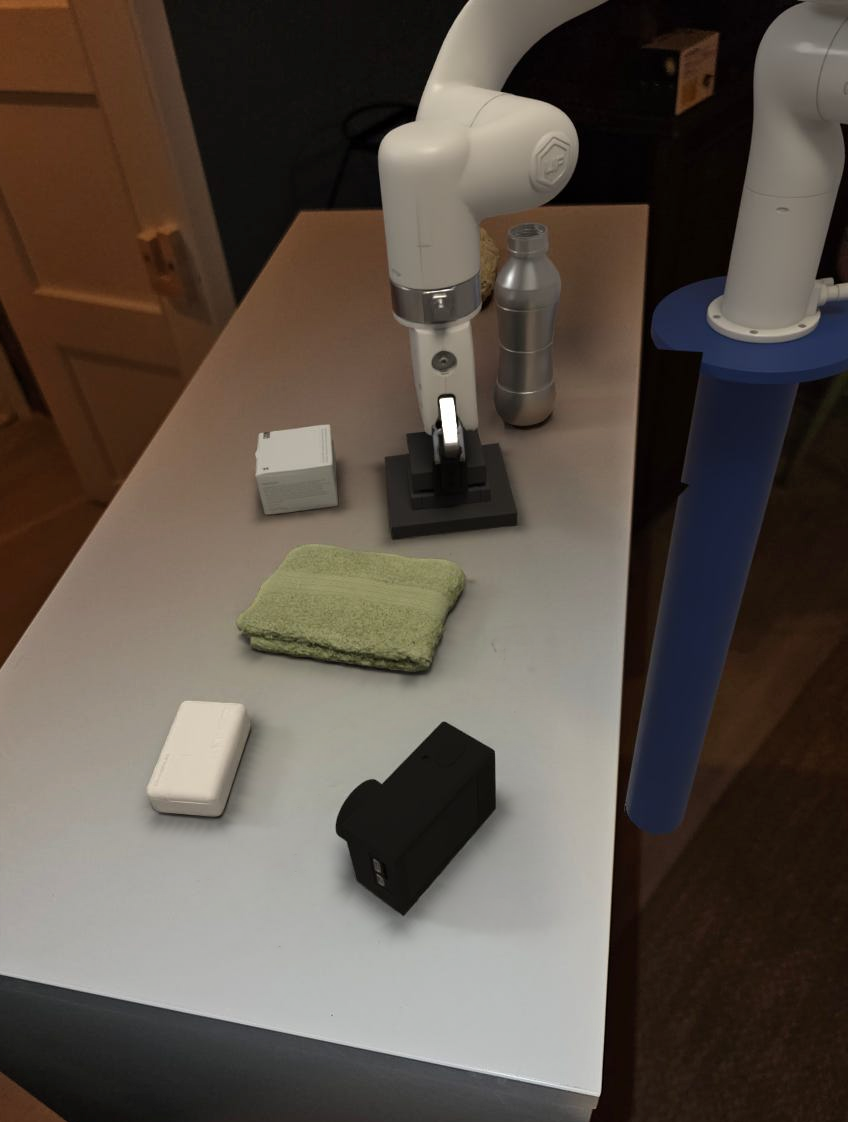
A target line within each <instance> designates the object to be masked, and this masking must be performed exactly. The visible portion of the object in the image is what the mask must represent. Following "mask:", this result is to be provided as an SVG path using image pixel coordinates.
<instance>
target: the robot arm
mask: <svg viewBox="0 0 848 1122" xmlns="http://www.w3.org/2000/svg"><path fill="white" fill-rule="evenodd" d="M608 1H609V0H468V1H467V2H466V4H465V5H464V6H463V8H462V9H461V10H460V12H459V13H458V15H457V17H456V18H455V20H454V21H453V23H452V25H451V27H450V28H449V30H448V32H447V34H446V36H445V38H444V40H443V42H442V45H441V47H440V49H439V52H438V54H437V57H436V60H435V62H434V64H433V67H432V70H431V72H430V74H429V77H428V80H427V82H426V85H425V86H424V90H423V92H422V95H421V98H420V102H419V104H418V109H417V113H416V116H415V121H410V122H408V123H404V124H402V125H399V126H397V127H395V128H393V129H391V130H390V131H389V132H388V133H387V134H386V135H385V136H384V137H383V138H382V139H381V142H380V144H379V148H378V152H377V153H378V154H377V165H378V174H379V175H378V176H379V184H380V185H379V186H380V196H381V204H382V215H383V225H384V235H385V244H386V255H387V264H388V266H387V267H388V275H389V286H390V287H389V288H390V296H391V297H390V298H391V307H392V317H393V318H394V321H396V322H397V323H398V324H399V325H401V326H403V327H406V328H408V338H409V346H410V355H411V364H412V371H413V372H412V373H413V380H414V385H415V391H416V396H417V401H418V406H419V411H420V415H421V419H422V425H423V428H424V431H425V432H426V433H427V434H429V435H431V436H432V438H433V449H434V459H432V472H433V485H434V494H435V496H437V497H441V496H450V495H458V494H465V493H467V492H468V472H467V456H466V455H465V449H464V438H463V427H464V428H465V430H466V431H467V430H472V431H474V430H475V429H476V428H477V429H478V428H479V416H478V415H479V414H478V400H477V399H478V398H477V385H476V383H477V382H476V361H475V350H474V349H475V348H474V338H473V337H474V335H473V328H472V327H473V326H472V320H473V319H474V318H475V317H476V316H478V315H479V313H480V312H481V310H482V305H483V304H482V301H481V266H480V265H481V261H480V227H481V223H482V222H483V221H484V220H486V219H490V218H496V217H500V216H501V217H502V216H507V215H513V214H517V213H523V212H527V211H530V210H531V211H532V210H534V209H536V208H539V207H542V206H543V205H545V204H547V203H548V202H551V200H553V199H554V198H556V196H558V195H559V194H560V193H561V192H562V191H563V190H564V188H565V187H566V186H567V185H568V184H569V182H570V180H571V178H572V176H573V174H574V173H575V169H576V166H577V163H578V159H579V149H580V148H579V145H580V144H579V137H578V133H577V130H576V128H575V125H574V123H573V122H572V120H571V118H569V116H568V115H567V114H566V113H565V112H564V111H562V109H560V108H558V107H556V106H555V105H553V104H551V103H548V102H545V101H543V100H538V99H534V98H529V97H525V96H520V95H515V94H513V93H509V92H503V91H502V89H503V88H504V85H505V83H506V81H507V80H508V78H509V76H510V75H511V73H512V71H513V70H514V69H515V67H516V66H517V64H518V63H519V62H520V60H521V59H522V58H523V57H524V55H525V54H527V52H528V51H529V50H530V49H531V48H532V47H533V46H534V45H535V44H537V43H538V42H539V41H540V40H541V39H543V37H544V36H546V35H547V34H548V33H550V32H552V31H553V30H554V29H556V28H558V27H560V26H561V25H562V24H564V23H566V22H568V21H571V20H572V19H574V18H576V17H578V16H580V15H583V14H584V13H587V12H589V11H590V10H593V9H595V8H597V7H599V6H600V5H602V4H604V3H606V2H608ZM798 1H799V2H801V3H798V4H795V5H793V6H791V7H789V8H787V9H786V10H784V11H783V12H782V13H780V14H779V15H778V16H777V17H776V18H775V19H774V20H773V21H772V23H771V24H770V25H769V26H768V28H767V29H766V31H765V33H764V34H763V37H762V39H761V41H760V43H759V45H758V48H757V53H756V56H755V62H754V69H753V121H752V132H751V142H750V148H749V154H748V161H747V167H746V172H745V178H744V182H743V188H742V194H741V199H740V205H739V210H738V215H737V216H738V217H737V221H736V226H735V230H734V231H735V232H734V237H733V242H732V248H731V253H730V259H729V266H728V270H727V275H726V276H727V281H726V286H725V292H724V295H722V296H720V297H718V298H716V299H715V300H714V301H713V302H712V303H711V304H710V305H709V307H708V311H707V322H708V324H709V325H710V327H712V328H713V329H714V330H715V331H716V332H718V333H719V334H721V335H723V336H726V337H728V338H731V339H735V340H738V341H743V342H749V343H759V344H771V343H782V342H788V341H792V340H796V339H799V338H802V337H804V336H806V335H808V334H809V333H811V332H812V331H814V329H815V328H816V327H817V325H818V322H819V319H820V310H819V308H818V306H824V304H825V303H826V302H831V301H834V302H837V301H845V300H848V282H843V283H837V284H835V281H834V278H833V277H825V278H819V279H816V278H817V274H818V270H819V265H820V262H821V258H822V254H823V250H824V246H825V244H826V243H825V242H826V238H827V234H828V231H829V227H830V223H831V219H832V215H833V211H834V207H835V203H836V199H837V197H838V196H837V195H838V191H839V188H840V184H841V180H842V178H843V177H842V176H843V174H844V173H843V172H844V166H845V159H846V154H845V152H846V150H845V142H844V135H843V130H842V127H841V124H843V125H848V0H798ZM439 435H443V445H444V446H441V448H440V446H439Z"/></svg>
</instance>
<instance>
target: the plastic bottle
mask: <svg viewBox="0 0 848 1122" xmlns="http://www.w3.org/2000/svg"><path fill="white" fill-rule="evenodd" d="M549 248H550V243H549V230H548V227H547V226H546V225H544V224H542V223H536V222H525V223H519V224H516V225H514V226H511V227H510V228H509V229H508V230H507V245H506V253H507V254H508V255H509V257H508V258H507V260H506V261H505V263H504V264H503V266H502V267H501V268H500V271H499V272H498V274H497V276H496V277H495V284H494V288H493V297H494V303H495V310H496V318H497V326H498V339H499V342H498V343H499V344H498V345H499V355H498V365H497V375H496V380H495V383H494V389H493V390H494V391H493V397H492V399H493V404H494V409H495V412H496V414H497V415H498V417H499V418H500V419H501V420H502V422H505V423H506V424H509V425H513V426H517V427H518V426H519V427H526V426H533V425H537V424H540V423H542V422H544V421H545V420H546V419H547V418H548V417H549V416H550V415H551V414H552V412H553V410H554V408H555V403H556V399H557V387H556V380H555V376H554V358H553V357H554V356H553V344H554V335H555V325H556V319H557V314H558V308H559V303H560V298H561V293H562V287H563V286H562V285H563V283H562V279H561V275H560V272H559V270H558V268H556V266H555V264H554V263H553V262H552V260H551V259H550V258H549V256H548V255H547V252H548V251H549Z"/></svg>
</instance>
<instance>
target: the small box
mask: <svg viewBox="0 0 848 1122" xmlns="http://www.w3.org/2000/svg"><path fill="white" fill-rule="evenodd" d="M332 435H333V434H332V429H331V425H330V424H329V423H328V424H318V425H311V426H304V427H297V428H288V429H281V430H272V431H266V432H265V431H264V432H259V433H258V435H257V447H256V450H255V452H254V453H255V454H254V456H255V459H256V463H255V476H254V477H255V480H256V485H257V489H258V492H259V497H260V500H261V505H262V508H263V513H264V514H265V515H266V516H267V515H277V514H286V513H294V512H301V511H309V510H315V509H316V510H317V509H325V508H332V507H333V508H334V507H337V506H338V505H339V497H338V481H337V480H338V477H337V459H336V453H335V447H334V441H333V440H334V439H333V436H332Z"/></svg>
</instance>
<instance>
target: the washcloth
mask: <svg viewBox="0 0 848 1122" xmlns="http://www.w3.org/2000/svg"><path fill="white" fill-rule="evenodd" d="M466 580H467V575H466V573H465V572H464V570H463V569H462V568H461V566H459V565H458V564H456V563H455V562H453V561H451V560H448V559H442V558H427V557H425V558H424V557H423V558H415V557H414V558H413V557H407V556H403V555H402V556H401V555H398V554H395V553H386V552H385V553H382V552H377V551H376V552H375V551H366V550H358V549H350V548H347V547H340V546H335V545H329V544H323V543H308V544H303V545H297V546H295V547H293V548H291V550H290V551H289V552H288V553H287V554H286V555H285V557H284V560H283V561H282V562H281V563H280V565H278V567H277V568H276V569H275V570H274V571H273V573H272V574H270V576H268V578H266V579H265V580H264V582H263V583H262V584H261V585H260V587H259V590H258V594H257V595H256V597H255V599H254V600H253V602H252V603H251V604H250V605H249V607H248V608H247V609H245V610H244V611H243V612H242V613H241V614H240V615H239V616H238V618H237V619H236V622H235V623H236V624H235V625H236V628H237V630H238V631H240V634H242V635H244V636H245V637H246V636H248V637H250V646H251V648H252V649H255V650H258V651H261V652H270V653H275V654H276V653H277V654H286V655H290V657H295V658H296V657H297V658H301V657H307V658H313V659H315V660H322V661H332V662H336V663H340V662H342V663H343V664H345V663H346V664H349V665H350V664H351V665H359V666H362V667H368V668H371V667H372V668H373V667H375V668H379V669H381V668H383V669H388V670H392V671H397V670H398V671H405V672H406V673H407V672H408V673H416V672H418V671H425V670H428V669H429V667H430V666H431V664H432V663H433V660H432V659H433V657H434V656H435V651H436V649H435V647H436V646H439V641H440V639H441V638H442V635H443V633H444V631H445V628H444V624H445V622H446V618H447V616H448V613H449V611H450V610H452V609H454V607H455V605H456V601H457V600H458V597H459V596H460V595H461V593H462V591H463V589H464V588H465V587H466V584H467V583H466Z"/></svg>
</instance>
